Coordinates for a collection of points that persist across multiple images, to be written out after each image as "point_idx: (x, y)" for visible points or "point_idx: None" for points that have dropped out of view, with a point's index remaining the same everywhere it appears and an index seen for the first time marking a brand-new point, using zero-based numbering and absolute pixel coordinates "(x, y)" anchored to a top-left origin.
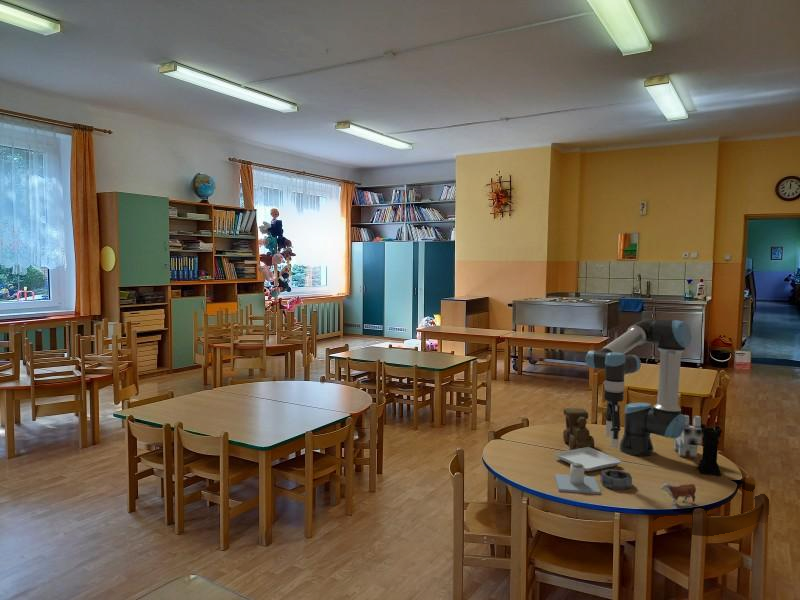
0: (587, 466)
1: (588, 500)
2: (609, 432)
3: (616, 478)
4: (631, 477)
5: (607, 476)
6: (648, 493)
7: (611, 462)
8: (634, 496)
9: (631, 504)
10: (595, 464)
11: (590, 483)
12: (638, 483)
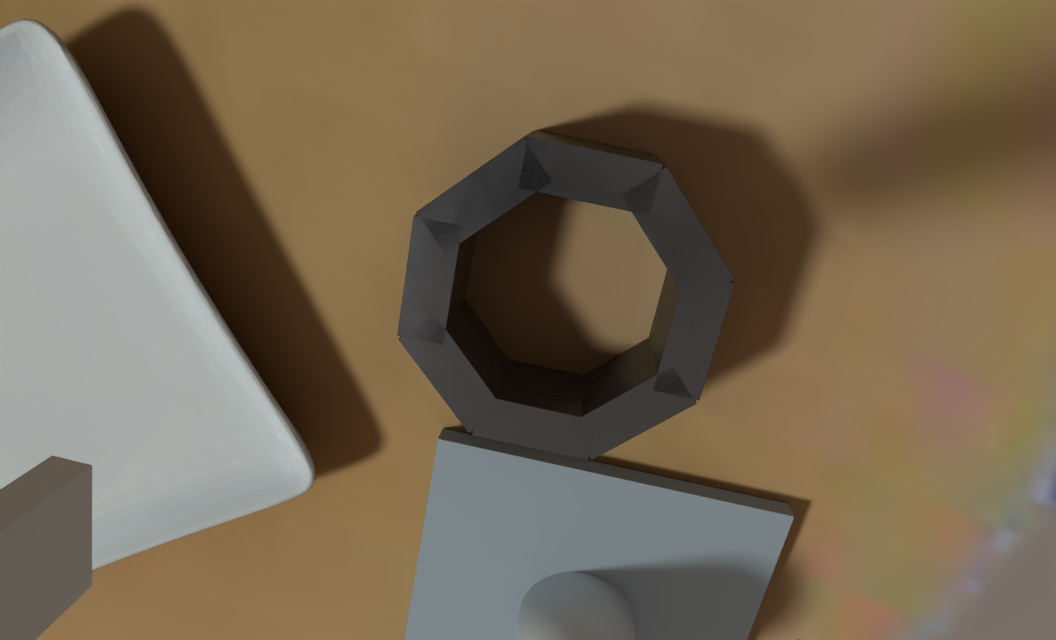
0: (161, 388)
1: (890, 630)
2: (16, 594)
3: (673, 352)
4: (654, 168)
5: (610, 420)
6: (827, 37)
7: (17, 113)
8: (878, 225)
9: (1049, 334)
10: (91, 294)
11: (600, 526)
12: (549, 27)
